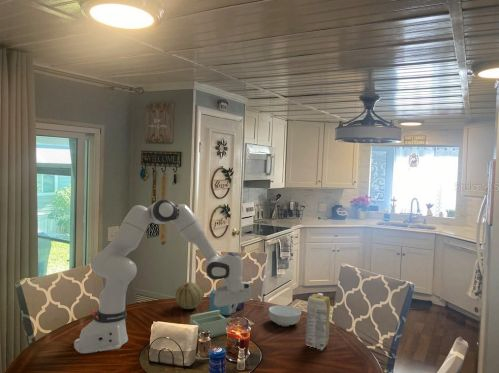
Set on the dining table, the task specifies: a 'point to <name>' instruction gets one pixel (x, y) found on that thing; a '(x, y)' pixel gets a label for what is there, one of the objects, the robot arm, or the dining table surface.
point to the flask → (239, 306)
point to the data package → (223, 309)
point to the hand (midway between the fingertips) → (232, 312)
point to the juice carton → (317, 321)
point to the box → (210, 322)
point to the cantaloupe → (188, 295)
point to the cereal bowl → (284, 315)
